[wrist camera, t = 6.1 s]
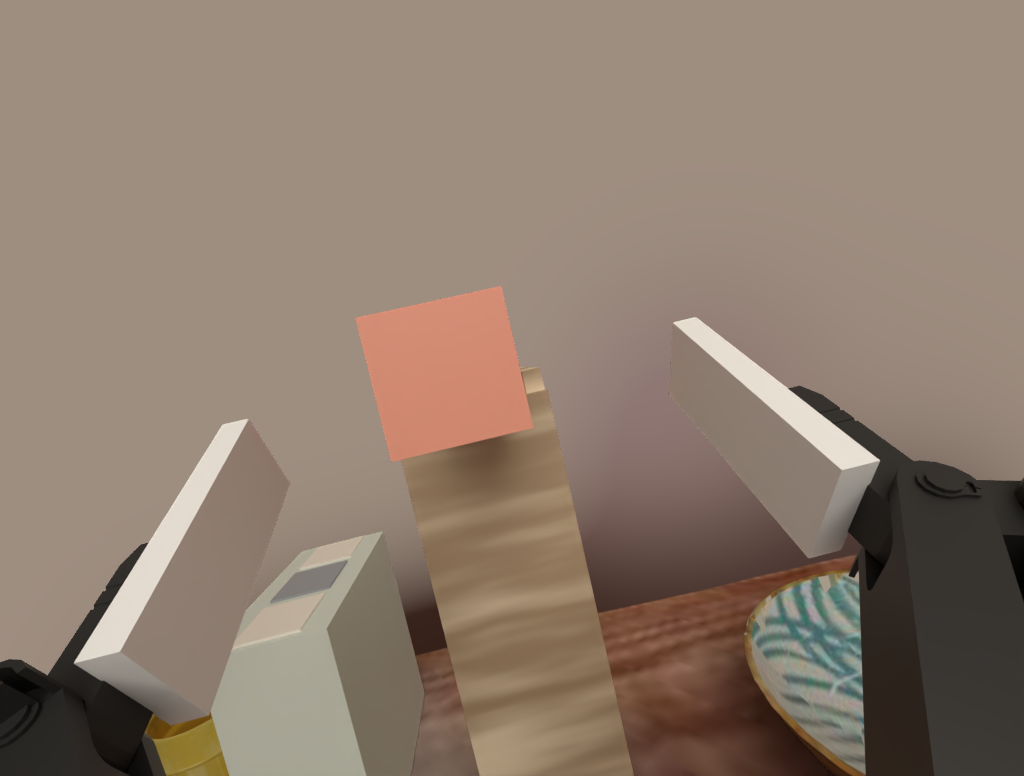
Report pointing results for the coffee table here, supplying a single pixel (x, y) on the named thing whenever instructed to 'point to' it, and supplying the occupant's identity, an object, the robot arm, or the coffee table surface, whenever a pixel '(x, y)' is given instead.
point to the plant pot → (188, 747)
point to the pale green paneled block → (323, 671)
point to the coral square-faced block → (445, 373)
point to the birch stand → (518, 602)
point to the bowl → (813, 665)
